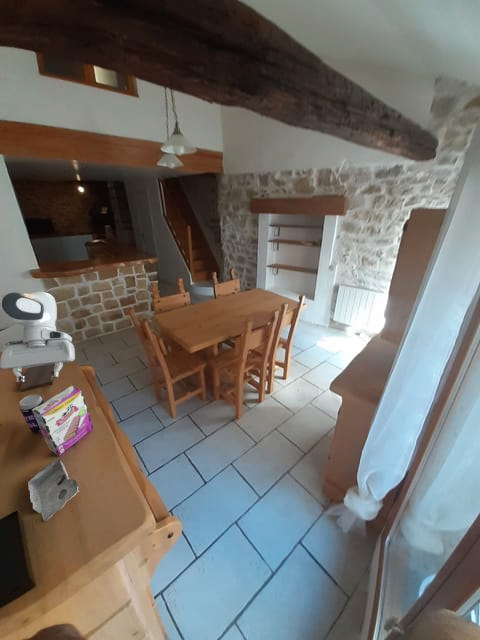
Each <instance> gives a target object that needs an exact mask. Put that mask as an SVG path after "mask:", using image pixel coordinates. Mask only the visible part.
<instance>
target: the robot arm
mask: <svg viewBox="0 0 480 640" xmlns="http://www.w3.org/2000/svg"><path fill="white" fill-rule="evenodd" d="M57 320H58V306H57V302H56V299H55V297H54V296H53V295H52V294H50V293H48V292H45V291H41V290H34V291H31V292H28V293H21V292H16V291H15V292H14V291H13V292H8V293H6V294H3V295H1V296H0V332H3V331H6V330H7V329H9V328H11V327H14V326H17V325H20V326H22V327H23V334H22V339H21V340H15V341H13V340H12V341H11V340H10V341H8V342H7V343H5V344H4V345H2V348H1V355H0V369H2V370H4V371H12V373H13V374H14V376H16V383H22V382H25V375H22V372H23V369H28V368H31V367H36V366H44V365H51V364H55V366H57V367H56V369H55V370H54V371H53V372H51V377H53V378H54V379H55V378H59V375H60V374H59V372H60V371H61V370H62V368H63V366H64V364H65V363H72V362H74V361H75V360H76V350H75V349H76V348H75V345H74V343H72V341H73V337H72V336H71V335H69V334H68V333H66V332H64V331H58V330H57V326H56V322H57Z"/></svg>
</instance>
